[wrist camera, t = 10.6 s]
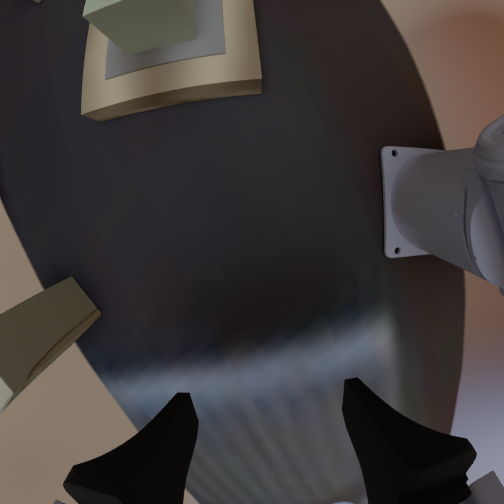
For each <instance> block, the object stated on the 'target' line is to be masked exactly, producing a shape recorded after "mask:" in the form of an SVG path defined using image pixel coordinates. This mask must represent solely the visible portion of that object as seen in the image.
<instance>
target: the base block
mask: <svg viewBox="0 0 504 504" xmlns="http://www.w3.org/2000/svg"><path fill="white" fill-rule="evenodd" d="M261 93H262V74H261V65H260V56H259V47H258V38H257V30H256V22H255V14H254V6H253V0H196V40H192V41H187V42H182V43H177V44H172V45H167V46H163V47H159V48H155V49H151V50H147V51H143V52H139V53H136V54H132V55H129V56H128V55H126V54H125V53H124V52H123V51H122V50H121V49H120V48H119V47H118V46H116V45H115V44H114V43H113V42H112V41H111V40H110V39H109V38H107V37H106V36H105V35H104V34H103V33H102V32H101V31H99V30H98V29H97V28H96V27H95V26H94V25H92V24H91V23H90V25H89V31H88V38H87V45H86V53H85V61H84V72H83V84H82V104H81V115H84V116H87V117H90V118H93V119H95V120H98V121H101V122H103V121H107V120H110V119H114V118H117V117H121V116H125V115H129V114H133V113H137V112H141V111H146V110H150V109H155V108H160V107H165V106H170V105H175V104H181V103H187V102H193V101H199V100H206V99H213V98H221V97H230V96H240V95H252V94H261Z"/></svg>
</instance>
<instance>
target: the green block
mask: <svg viewBox="0 0 504 504" xmlns="http://www.w3.org/2000/svg"><path fill="white" fill-rule="evenodd" d="M83 17H84V18H85V19H86V20H88V21H89V22H90V23H91V24H92V25H94V26H95V27H96V28H97V29H98V30H99V31H101V32H102V33H103V34H104V35H105V36H106V37H107V38H109V39H110V40H111V41H112V42H113V43H114V44H115V45H116V46H118V47H119V48H120V49H121V50H122V51H123V52H124V53H125V54H126V55H128V56H129V55H132V54H136V53H139V52H143V51H147V50H151V49H155V48H159V47H163V46H167V45H172V44H177V43H182V42H187V41H192V40H196V0H86V3H85V7H84V12H83Z"/></svg>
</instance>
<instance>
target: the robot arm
mask: <svg viewBox="0 0 504 504" xmlns="http://www.w3.org/2000/svg"><path fill="white" fill-rule="evenodd" d="M392 150H393V151H394V152H395V157H393V156H392ZM381 165H382V180H383V201H384V254H385V255H386V256H387V257H389V258H396V257H406V256H416V255H426V254H432V255H435V256H437V257H439V258H441V259H443V260H445V261H448V262H450V263H452V264H454V265H456V266H458V267H460V268H462V269H464V270H466V271H468V272H470V273H472V274H474V275H476V276H478V277H480V278H483V279H484V280H487V281H488V282H490V283H492V284H494V285H496V286H498V288H499V290H500V293H501V294H502V295H503V296H504V115H502V116H501V117H499V118H498V119H496V120H494V121H493V122H492V123H490V124H489V125H488V126H487V127H486V128H485V129H483V131H482V132H481V133H480V134H479V136H478V139H477V143H476V146H475V147H474V148H467V149H459V150H450V151H444V150H434V149H423V148H410V147H393V146H386V147H383V148H382V149H381ZM397 247H398V252H397V253H395V252H394V251H395V249H396V248H397ZM342 412H343V416H344V421H345V425H346V428H347V431H348V434H349V436H350V439H351V442H352V444H353V447H354V449H355V452H356V455H357V457H358V460H359V463H360V466H361V469H362V474H363V478H364V482H365V487H366V492H367V498H368V504H504V487H503V485H502V484H501V482H500V481H499V479H498V477H497V476H496V474H495V472H494V471H491V472H490V473H488V474H486V475H485V476H483V477H481V478H480V479H478V480H476V481H475V482H473V483H472V484H471V485H470V486H468V485H467V483H466V482H467V480H468V477H467V476H466V472H467V470H468V469H469V468H470V466H471V465H472V464H473V462H474V460H475V458H476V455H477V453H476V451H475V449H474V448H473V446H472V445H471V443H470V442H469V441H468V439H466V438H461V437H456V436H451V435H447V434H444V433H441V432H437V431H435V430H432V429H429V428H427V427H425V426H422V425H420V424H418V423H416V422H414V421H412V420H410V419H409V418H407V417H405V416H403V415H402V414H400V413H399V412H397V411H396V410H395V409H393V408H392V407H391V406H389V405H388V404H387V403H385V402H384V401H383V400H382V399H381V398H379V397H378V396H377V395H376V394H375V393H374V392H373V391H371V390H370V389H369V388H368V387H367V386H366V385H365V384H364V383H363V382H362V381H361V380H360V379H359V378H357V377H356V378H351V379H346V380H345V383H344V395H343V405H342ZM198 424H199V421H198V418H197V415H196V412H195V409H194V406H193V402H192V399H191V396H190V393H177V394H176V395H175V396H174V397H173V398H172V399H171V400H170V401H169V402H168V403H167V405H166V406H165V407H164V408H163V409H162V410H161V411H160V412H159V413H158V414H157V415H156V416H155V417H154V418H153V419H152V420H151V421H150V422H149V423H148V424H147V425H146V426H145V427H144V428H143V429H142V430H141V431H139V432H138V433H137V434H136V435H135V436H133V437H132V438H131V439H129V440H128V441H126V442H125V443H123V444H122V445H120V446H118V447H117V448H115V449H113V450H111V451H110V452H108V453H106V454H104V455H102V456H99V457H97V458H95V459H92V460H89V461H87V462H84V463H80V464H77V465H74V466H73V467H72V469H71V471H70V472H69V474H68V476H67V478H66V480H65V481H64V483H63V486H64V488H65V490H66V491H67V492H68V494H69V495H70V496H71V497H72V498H73V499H74V500H75V501H76V502H77V503H78V504H183V499H184V490H185V483H186V477H187V473H188V469H189V466H190V462H191V458H192V455H193V451H194V447H195V444H196V440H197V433H198ZM53 504H65V503H63V502H60V501H58V500H55V501H54V503H53Z"/></svg>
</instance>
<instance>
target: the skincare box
mask: <svg viewBox="0 0 504 504" xmlns="http://www.w3.org/2000/svg"><path fill="white" fill-rule="evenodd" d="M100 315H101V312H100V311H99V310H98V308H97V307H96V306H95V305H94V303H93V302H92V301H91V300H90V298H89V297H88V296H87V295H86V293H85V292H84V291H83V290H82V288H81V287H80V286H79V284H78V283H77V282H76V280H75V279H74V278H73V277H69V278H67V279H65V280H63V281H61V282H59V283H57V284H55V285H53V286H51V287H50V288H48V289H46V290H44V291H42V292H40V293H38V294H36V295H34V296H33V297H31V298H29V299H27V300H25V301H24V302H22V303H20V304H18V305H16V306H14V307H13V308H11V309H9V310H7V311H6V312H4V313H2V314H0V414H1V413H2V412H3V410H4V409H5V408H6V407H7V406H8V405H9V404H10V403H11V402H12V401H13V400H14V399H15V398H16V397H17V396H18V395H19V394H20V393H21V392H22V391H23V390H24V389H25V388H26V387H27V386H28V385H29V384H30V383H31V382H32V381H33V380H34V379H35V378H36V377H37V376H38V375H39V374H40V373H41V372H43V371H44V370H45V368H47V367H48V366H49V365H50V364H51V363H52V362H53V361H55V360H56V359H57V358H58V357H59V356H60V355H61V354H62V353H63V352H64V351H65V350H66V349H68V348H69V347H70V346H71V345H72V344H73V343H74V342H75V341H76V340H77V339H78V338H79V337H80V336H81V335H82V334H83V333H84V332H85V331H86V330H87V329H88V328H89V327H90V326H91V325H92V324H93V322H94V321H95V320H96V319H97V318H98V317H99V316H100Z"/></svg>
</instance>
